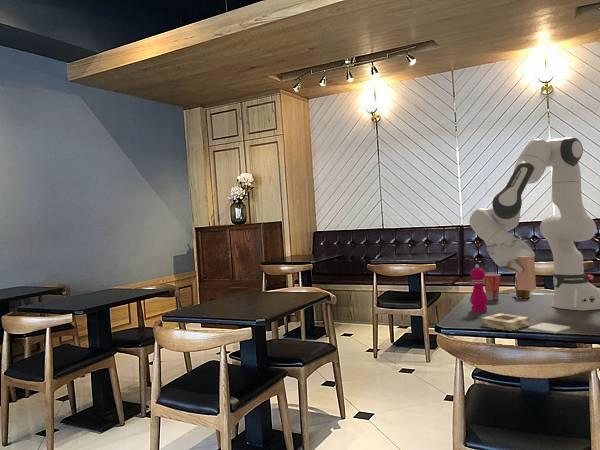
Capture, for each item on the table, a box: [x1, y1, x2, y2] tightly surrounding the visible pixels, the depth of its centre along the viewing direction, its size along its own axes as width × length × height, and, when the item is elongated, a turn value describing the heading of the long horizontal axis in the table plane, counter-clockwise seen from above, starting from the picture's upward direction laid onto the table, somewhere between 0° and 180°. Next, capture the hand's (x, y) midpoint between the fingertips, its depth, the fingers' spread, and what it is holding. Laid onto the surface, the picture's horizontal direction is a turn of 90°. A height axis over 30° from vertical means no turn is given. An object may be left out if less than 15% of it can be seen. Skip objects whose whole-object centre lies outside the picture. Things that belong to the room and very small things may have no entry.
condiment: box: [510, 275, 531, 299], centre depth 238 cm, size 7×8×12 cm
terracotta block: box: [515, 256, 537, 292], centre depth 179 cm, size 4×4×12 cm
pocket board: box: [480, 312, 531, 332], centre depth 184 cm, size 12×12×3 cm
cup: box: [483, 272, 502, 301], centre depth 237 cm, size 9×8×12 cm
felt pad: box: [527, 322, 572, 334], centre depth 176 cm, size 10×10×1 cm
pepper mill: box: [469, 263, 489, 313], centre depth 213 cm, size 7×7×20 cm
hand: (527, 270), depth 179 cm, fingers closed on terracotta block, 4 cm apart
